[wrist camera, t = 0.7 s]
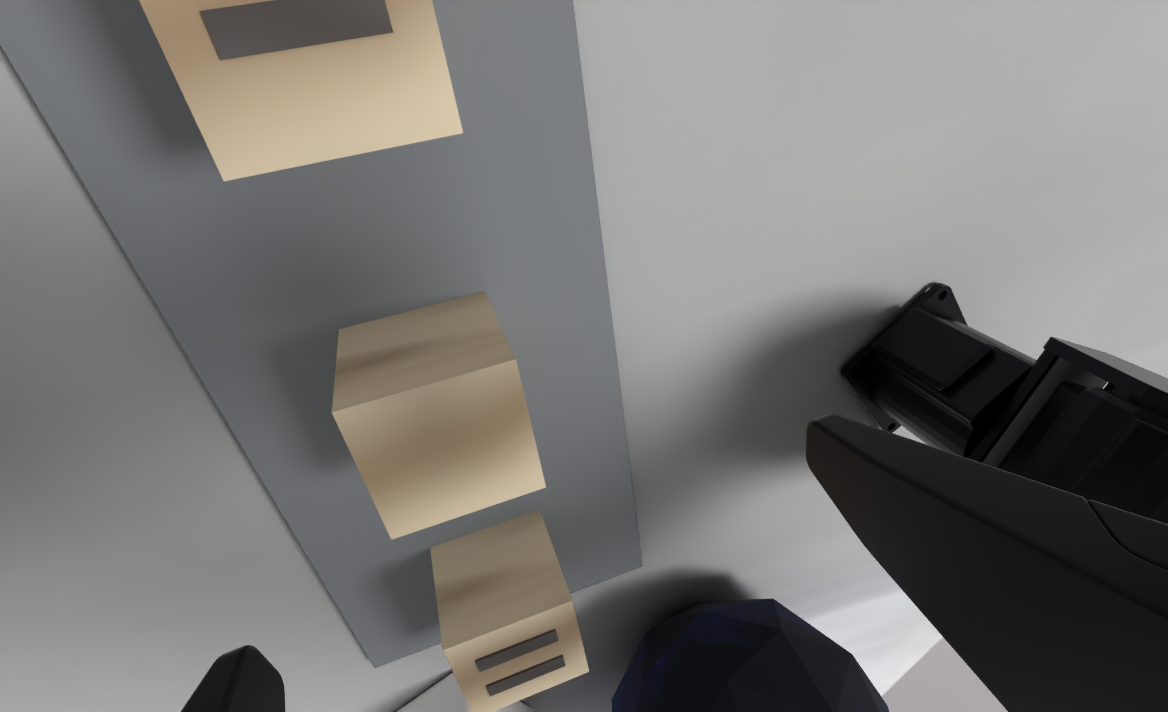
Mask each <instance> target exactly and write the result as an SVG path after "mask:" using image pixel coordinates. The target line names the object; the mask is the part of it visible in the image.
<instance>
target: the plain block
mask: <svg viewBox="0 0 1168 712" xmlns="http://www.w3.org/2000/svg"><path fill="white" fill-rule="evenodd" d="M332 414H333V416H334V419H335V421H336V423H337V425H338V427H339V429H340V431H341V434H342V436H343V438H344V440H345V442H346V444H347V446H348V448H349V451H350V453H351V455H352V457H353V459H354V461H355V463H356V466H357V468H358V470H359V472H360V474H361V476H362V478H363V480H364V483H365V485H366V487H367V489H368V491H369V493H370V495H371V498H372V500H373V502H374V504H375V506H376V508H377V510H378V512H379V515H380V517H381V519H382V521H383V523H384V525H385V527H386V530H387V532H388V534H389V536H390V538H391V540H392V539H395V538H398V537H401V536H404V535H407V534H410V533H413V532H416V531H419V530H422V529H425V528H428V527H431V526H434V525H437V524H440V523H443V522H445V521H448V520H451V519H454V518H457V517H460V516H463V515H466V514H469V513H472V512H475V511H478V510H481V509H484V508H487V507H490V506H493V505H496V504H499V503H502V502H504V501H507V500H510V499H513V498H516V497H519V496H522V495H525V494H528V493H531V492H534V491H537V490H540V489H543V488H546V485H545V480H544V476H543V472H542V468H541V463H540V459H539V455H538V451H537V446H536V442H535V438H534V434H533V429H532V425H531V421H530V417H529V412H528V408H527V404H526V400H525V395H524V391H523V387H522V383H521V378H520V374H519V370H518V366H517V361H516V358H515V356H514V354H513V352H512V349H511V347H510V345H509V343H508V341H507V338H506V336H505V334H504V332H503V330H502V327H501V325H500V323H499V321H498V319H497V316H496V314H495V312H494V310H493V308H492V305H491V303H490V301H489V299H488V297H487V294H486V292H485V291H484V292H480V293H477V294H473V295H469V296H465V297H461V298H457V299H454V300H450V301H446V302H442V303H438V304H434V305H431V306H427V307H423V308H419V309H415V310H411V311H408V312H404V313H400V314H396V315H392V316H388V317H385V318H381V319H377V320H373V321H369V322H365V323H361V324H358V325H354V326H350V327H346V328H342V329H339V334H338V346H337V357H336V368H335V380H334V391H333V402H332Z"/></svg>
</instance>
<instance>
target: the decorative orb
mask: <svg viewBox="0 0 1168 712" xmlns="http://www.w3.org/2000/svg"><path fill="white" fill-rule="evenodd" d="M612 712H889V710H888V706H887V705H886V703H885V702H884V700H883V699H882V697H881V696H880V694H879V693H878V691H877V690H876V688H875V687H874V686H873V684H872V683H871V681H870V680H869V678H868V677H867V675H866V674H865V672H864V671H863V669H862V668H861V667H860V665H859V664H858V662H857V661H856V659H855V658H854V656H853V655H852V654H851V653H849V652H848V651H847V650H845V649H844V648H842V647H841V646H840V645H838V644H837V643H835V642H834V641H832V640H831V639H830V638H828V637H827V636H825V635H824V634H822V633H821V632H820V631H818V630H817V629H815V628H814V627H813V626H811V625H810V624H808V623H807V622H805V621H804V620H803V619H801V618H800V617H798V616H797V615H796V614H794V613H793V612H791V611H790V610H788V609H787V608H786V607H784V606H783V605H781V604H780V603H778V602H777V601H776V600H774V599H753V600H729V601H704V602H698V603H696V604H695V605H693V606H691V607H689V608H687V609H686V610H684V611H682V612H680V613H679V614H677V615H675V616H673V617H671V618H670V619H668V620H666V621H664V622H662V623H661V624H659V625H657V626H655V627H653V628H652V629H650V630H648V631H647V633H646V635H645V637H644V639H643V640H642V642H641V644H640V646H639V648H638V650H637V652H636V654H635V656H634V658H633V660H632V662H631V664H630V665H629V667H628V669H627V671H626V673H625V675H624V677H623V679H622V681H621V683H620V685H619V687H618V689H617V690H616V692H615V694H614V696H613V698H612Z"/></svg>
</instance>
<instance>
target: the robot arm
mask: <svg viewBox="0 0 1168 712" xmlns="http://www.w3.org/2000/svg"><path fill="white" fill-rule="evenodd" d="M1043 348H1044V349H1045V350H1044V351H1043V353H1042V354H1041V355H1040V357H1039V358H1038V360H1035V359H1033V358H1031V357H1029V356H1027V355H1025V354H1023V353H1021V352H1019V351H1017V350H1015V349H1013V348H1011V347H1009V346H1007V345H1005V344H1003V343H1001V342H999V341H997V340H995V339H993V338H991V337H989V336H987V335H985V334H983V333H981V332H979V331H977V330H975V329H973V328H971V327H969V326H967V324H966V321H965V319H964V317H963V315H962V312H961V310H960V308H959V306H958V304H957V301H956V299H955V297H954V295H953V292H952V290H951V288H950V287H949V286H947V285H945V284H942V283H937V284H935V285H934V286H932V287H931V288H930V289H929V290H928V291H927V292H926V293H925V294H924V295H922V296H921V297H920V298H919V299H918V300H917V301H916V302H915V303H913V304H912V305H911V306H910V307H909V308H908V309H907V310H906V311H905V312H903V313H902V314H901V315H900V316H899V317H898V318H897V319H896V320H895V321H893V322H892V323H891V324H890V325H889V326H888V327H887V328H886V329H885V330H883V331H882V332H881V333H880V334H879V335H878V336H877V337H876V338H875V339H873V340H872V341H871V342H870V343H869V344H868V345H867V346H866V347H865V348H863V349H862V350H861V351H860V352H859V353H858V354H857V355H856V356H855V357H853V358H852V359H851V360H850V361H849V362H848V363H847V364H846V365H845V366H844V367H843V369H842V371H841V376H842V378H843V379H844V381H845V382H846V383H847V385H848V386H849V388H850V389H851V390H852V392H853V393H854V394H855V396H856V397H857V399H858V400H859V401H860V403H861V404H862V405H863V407H864V408H865V410H866V411H867V412H868V414H869V415H870V417H871V418H872V419H873V421H874V422H875V423H876V425H877V426H878V428H879V429H878V428H875V427H872V426H869V425H866V424H863V423H860V422H857V421H854V420H851V419H848V418H845V417H842V416H839V415H836V414H826V415H823V416H821V417H818V418H816V419H813V420H811V421H810V422H809V423H808V425H807V429H806V460H807V463H808V466H809V468H810V470H811V471H812V473H813V474H814V476H815V477H816V478H817V480H818V481H819V483H820V484H821V485H822V487H823V488H824V490H825V491H826V493H827V494H828V495H829V497H830V498H831V500H832V501H833V503H834V504H835V505H836V507H837V508H838V510H839V511H840V513H841V514H842V515H843V517H844V518H845V520H846V521H847V522H848V524H849V525H850V527H851V528H852V530H853V531H854V532H855V534H856V535H857V536H858V538H859V539H860V540H861V542H862V543H863V545H864V546H865V547H866V548H867V549H868V551H869V552H870V553H871V554H872V555H873V557H874V558H875V559H876V560H877V561H878V562H879V564H880V565H881V566H882V567H883V568H884V569H885V570H886V572H887V573H888V574H889V575H890V576H891V577H892V579H893V580H894V581H895V582H896V583H897V584H898V585H899V587H900V588H901V589H902V590H903V591H904V592H905V593H906V595H907V596H908V597H909V598H910V599H911V600H912V602H913V603H914V604H915V605H916V606H917V607H918V608H919V610H920V611H921V612H922V613H923V614H924V615H925V617H926V618H927V619H928V620H929V621H930V622H931V623H932V625H933V626H934V627H935V628H936V629H937V630H938V631H939V633H940V634H941V635H942V636H943V637H944V638H945V640H946V641H947V642H948V643H949V644H950V645H951V646H952V648H953V649H954V650H955V651H956V652H957V653H958V654H959V656H960V657H961V658H962V659H963V660H964V661H965V663H967V665H968V666H969V667H970V668H971V669H972V671H973V672H974V673H975V674H976V675H977V676H978V677H979V679H980V680H981V681H982V682H983V683H984V684H985V686H986V687H987V688H988V689H989V690H990V691H991V692H992V694H993V695H994V696H995V697H996V698H997V699H998V701H999V702H1000V703H1001V704H1002V705H1003V706H1004V707H1005V708H1006V710H1007V711H1008V712H1168V379H1167V378H1165V377H1163V376H1160V375H1158V374H1156V373H1153V372H1151V371H1149V370H1146V369H1144V368H1141V367H1139V366H1137V365H1134V364H1132V363H1129V362H1127V361H1125V360H1122V359H1120V358H1117V357H1115V356H1113V355H1110V354H1108V353H1105V352H1101V351H1098V350H1095V349H1091V348H1088V347H1085V346H1081V345H1078V344H1075V343H1071V342H1068V341H1065V340H1061V339H1058V338H1055V337H1050V338H1049V340H1048V341H1047V343H1046V344H1045V345H1044V347H1043ZM1107 382H1109V383H1108V384H1107V385H1106V387H1105V388H1104V389H1102V388H1103V387H1104V386H1105V384H1106V383H1107ZM901 425H902V426H903V427H904V428H906V429H907V430H908V431H910V432H911V433H912V434H914V435H915V436H916V437H918V438H919V439H920V440H922V441H923V442H925V443H926V444H927V445H926V444H923V443H920V442H917V441H914V440H911V439H908V438H905V437H902V436H899V435H896V434H893V432H894V431H895V430H896V429H898V428H899V427H900V426H901ZM181 712H285V692H284V684H283V680H282V677H281V675H280V674H279V672H278V671H277V670H276V669H275V668H274V667H273V665H272V664H271V663H270V662H269V661H268V660H267V659H266V658H265V657H264V656H263V655H262V654H261V653H260V651H259V650H258V649H257V648H255V647H254V646H251V645H246V646H243V647H240V648H238V649H235V650H233V651H230V652H228V653H225V654H223V655H221V656H220V657H219V658H218V659H217V660H216V661H215V662H214V663H213V665H212V666H211V668H210V669H209V671H208V672H207V674H206V675H205V677H204V678H203V680H202V681H201V683H200V684H199V685H198V687H197V688H196V690H195V691H194V693H193V694H192V696H191V697H190V699H189V700H188V702H187V703H186V705H185V706H184V708H183V709H182V711H181Z"/></svg>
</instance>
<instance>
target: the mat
mask: <svg viewBox="0 0 1168 712" xmlns="http://www.w3.org/2000/svg"><path fill="white" fill-rule="evenodd" d="M432 2H433V7H434V11H435V15H436V19H437V24H438V28H439V32H440V36H441V41H442V45H443V49H444V53H445V58H446V62H447V66H448V70H449V75H450V79H451V83H452V87H453V92H454V96H455V100H456V104H457V109H458V113H459V117H460V122H461V126H462V130H463V133H461V134H456V135H452V136H447V137H442V138H437V139H432V140H427V141H422V142H417V143H412V144H407V145H402V146H397V147H392V148H387V149H382V150H377V151H372V152H367V153H362V154H357V155H352V156H347V157H343V158H338V159H333V160H328V161H323V162H318V163H313V164H308V165H303V166H298V167H293V168H288V169H283V170H278V171H273V172H268V173H263V174H258V175H253V176H248V177H243V178H239V179H234V180H229V181H223V179H222V176H221V174H220V172H219V170H218V168H217V166H216V164H215V162H214V159H213V157H212V155H211V153H210V151H209V149H208V147H207V144H206V142H205V140H204V138H203V136H202V134H201V132H200V129H199V127H198V125H197V123H196V121H195V119H194V117H193V115H192V112H191V110H190V108H189V106H188V104H187V102H186V100H185V97H184V95H183V93H182V91H181V89H180V87H179V85H178V82H177V80H176V78H175V76H174V74H173V72H172V70H171V68H170V65H169V63H168V61H167V59H166V57H165V55H164V53H163V50H162V48H161V46H160V44H159V42H158V40H157V38H156V36H155V33H154V31H153V29H152V27H151V25H150V23H149V21H148V18H147V16H146V14H145V12H144V10H143V8H142V6H141V3H140V1H139V0H0V46H1V47H2V49H3V51H4V52H5V54H6V56H7V57H8V59H9V61H10V62H11V64H12V66H13V67H14V69H15V71H16V72H17V74H18V76H19V77H20V79H21V81H22V82H23V84H24V86H25V87H26V89H27V91H28V92H29V94H30V96H31V97H32V99H33V101H34V102H35V104H36V106H37V107H38V109H39V111H40V112H41V114H42V116H43V117H44V119H45V121H46V122H47V124H48V126H49V127H50V129H51V131H52V132H53V134H54V136H55V137H56V139H57V141H58V142H59V144H60V146H61V147H62V149H63V151H64V152H65V154H66V156H67V157H68V159H69V161H70V162H71V164H72V166H73V167H74V169H75V171H76V172H77V174H78V176H79V177H80V179H81V181H82V182H83V184H84V186H85V187H86V189H87V191H88V192H89V194H90V196H91V197H92V199H93V201H94V202H95V204H96V206H97V207H98V209H99V211H100V212H101V214H102V216H103V217H104V219H105V221H106V222H107V224H108V226H109V227H110V229H111V231H112V232H113V234H114V236H115V237H116V239H117V241H118V242H119V244H120V246H121V247H122V249H123V251H124V252H125V254H126V256H127V257H128V259H129V261H130V262H131V264H132V266H133V267H134V269H135V271H136V272H137V274H138V276H139V277H140V279H141V281H142V282H143V284H144V286H145V287H146V289H147V291H148V292H149V294H150V296H151V297H152V299H153V301H154V302H155V304H156V306H157V307H158V309H159V311H160V312H161V314H162V316H163V317H164V319H165V321H166V322H167V324H168V326H169V327H170V329H171V331H172V332H173V334H174V336H175V337H176V339H177V341H178V342H179V344H180V346H181V347H182V349H183V350H184V352H185V354H186V355H187V357H188V359H189V360H190V362H191V364H192V365H193V367H194V369H195V370H196V372H197V374H198V375H199V377H200V379H201V380H202V382H203V384H204V385H205V387H206V389H207V390H208V392H209V394H210V395H211V397H212V399H213V400H214V402H215V404H216V405H217V407H218V409H219V410H220V412H221V414H222V415H223V417H224V419H225V420H226V422H227V424H228V425H229V427H230V429H231V430H232V432H233V434H234V435H235V437H236V439H237V440H238V442H239V444H240V445H241V447H242V449H243V450H244V452H245V454H246V455H247V457H248V459H249V460H250V462H251V464H252V465H253V467H254V469H255V470H256V472H257V474H258V475H259V477H260V479H261V480H262V482H263V484H264V485H265V487H266V489H267V490H268V492H269V494H270V495H271V497H272V499H273V500H274V502H275V504H276V505H277V507H278V509H279V510H280V512H281V514H282V515H283V517H284V519H285V520H286V522H287V524H288V525H289V527H290V529H291V530H292V532H293V534H294V535H295V537H296V539H297V540H298V542H299V544H300V545H301V547H302V549H303V550H304V552H305V554H306V555H307V557H308V559H309V560H310V562H311V564H312V565H313V567H314V569H315V570H316V572H317V574H318V575H319V577H320V579H321V580H322V582H323V584H324V585H325V587H326V589H327V590H328V592H329V594H330V595H331V597H332V599H333V600H334V602H335V604H336V605H337V607H338V609H339V610H340V612H341V614H342V615H343V617H344V619H345V620H346V622H347V624H348V625H349V627H350V629H351V630H352V632H353V634H354V635H355V637H356V639H357V640H358V642H359V644H360V645H361V647H362V649H363V650H364V652H365V654H366V655H367V657H368V659H369V660H370V662H371V664H372V665H373V667H374V668H376V667H379V666H382V665H384V664H387V663H390V662H392V661H395V660H397V659H400V658H403V657H405V656H408V655H410V654H413V653H416V652H418V651H421V650H424V649H426V648H429V647H431V646H434V645H437V644H439V643H442V639H441V631H440V623H439V615H438V607H437V599H436V591H435V583H434V575H433V567H432V559H431V551H430V547H433V546H436V545H439V544H442V543H445V542H448V541H450V540H453V539H456V538H459V537H462V536H465V535H468V534H471V533H474V532H476V531H479V530H482V529H485V528H488V527H491V526H494V525H497V524H500V523H502V522H505V521H508V520H511V519H514V518H517V517H520V516H523V515H526V514H528V513H531V512H534V511H537V510H540V512H541V515H542V518H543V520H544V523H545V526H546V529H547V531H548V534H549V537H550V540H551V542H552V545H553V548H554V551H555V553H556V556H557V559H558V562H559V565H560V567H561V570H562V573H563V576H564V578H565V581H566V584H567V587H568V589H569V592H570V593H573V592H576V591H578V590H581V589H584V588H586V587H589V586H591V585H594V584H597V583H599V582H602V581H605V580H607V579H610V578H612V577H615V576H618V575H620V574H623V573H626V572H628V571H631V570H633V569H636V568H639V567H641V566H642V560H641V552H640V544H639V536H638V528H637V520H636V511H635V503H634V495H633V487H632V479H631V471H630V462H629V454H628V446H627V438H626V430H625V422H624V414H623V405H622V397H621V389H620V381H619V373H618V365H617V357H616V348H615V340H614V332H613V324H612V316H611V308H610V300H609V291H608V283H607V275H606V267H605V259H604V251H603V242H602V234H601V226H600V218H599V210H598V202H597V194H596V185H595V177H594V169H593V161H592V153H591V145H590V137H589V128H588V120H587V112H586V104H585V96H584V88H583V80H582V71H581V63H580V55H579V47H578V39H577V31H576V22H575V14H574V6H573V0H432ZM484 291H485V292H486V294H487V297H488V299H489V301H490V303H491V305H492V308H493V310H494V312H495V314H496V316H497V319H498V321H499V323H500V325H501V327H502V330H503V332H504V334H505V336H506V338H507V341H508V343H509V345H510V347H511V349H512V352H513V354H514V356H515V358H516V361H517V366H518V370H519V374H520V378H521V383H522V387H523V391H524V395H525V400H526V404H527V408H528V412H529V417H530V421H531V425H532V429H533V434H534V438H535V442H536V446H537V451H538V455H539V459H540V463H541V468H542V472H543V476H544V480H545V485H546V488H543V489H540V490H537V491H534V492H531V493H528V494H525V495H522V496H519V497H516V498H513V499H510V500H507V501H504V502H502V503H499V504H496V505H493V506H490V507H487V508H484V509H481V510H478V511H475V512H472V513H469V514H466V515H463V516H460V517H457V518H454V519H451V520H448V521H445V522H443V523H440V524H437V525H434V526H431V527H428V528H425V529H422V530H419V531H416V532H413V533H410V534H407V535H404V536H401V537H398V538H395V539H392V540H391V538H390V536H389V534H388V532H387V530H386V527H385V525H384V523H383V521H382V519H381V517H380V515H379V512H378V510H377V508H376V506H375V504H374V502H373V500H372V498H371V495H370V493H369V491H368V489H367V487H366V485H365V483H364V480H363V478H362V476H361V474H360V472H359V470H358V468H357V466H356V463H355V461H354V459H353V457H352V455H351V453H350V451H349V448H348V446H347V444H346V442H345V440H344V438H343V436H342V434H341V431H340V429H339V427H338V425H337V423H336V421H335V419H334V416H333V414H332V402H333V391H334V380H335V368H336V357H337V346H338V334H339V329H342V328H346V327H350V326H354V325H358V324H361V323H365V322H369V321H373V320H377V319H381V318H385V317H388V316H392V315H396V314H400V313H404V312H408V311H411V310H415V309H419V308H423V307H427V306H431V305H434V304H438V303H442V302H446V301H450V300H454V299H457V298H461V297H465V296H469V295H473V294H477V293H480V292H484Z"/></svg>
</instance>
